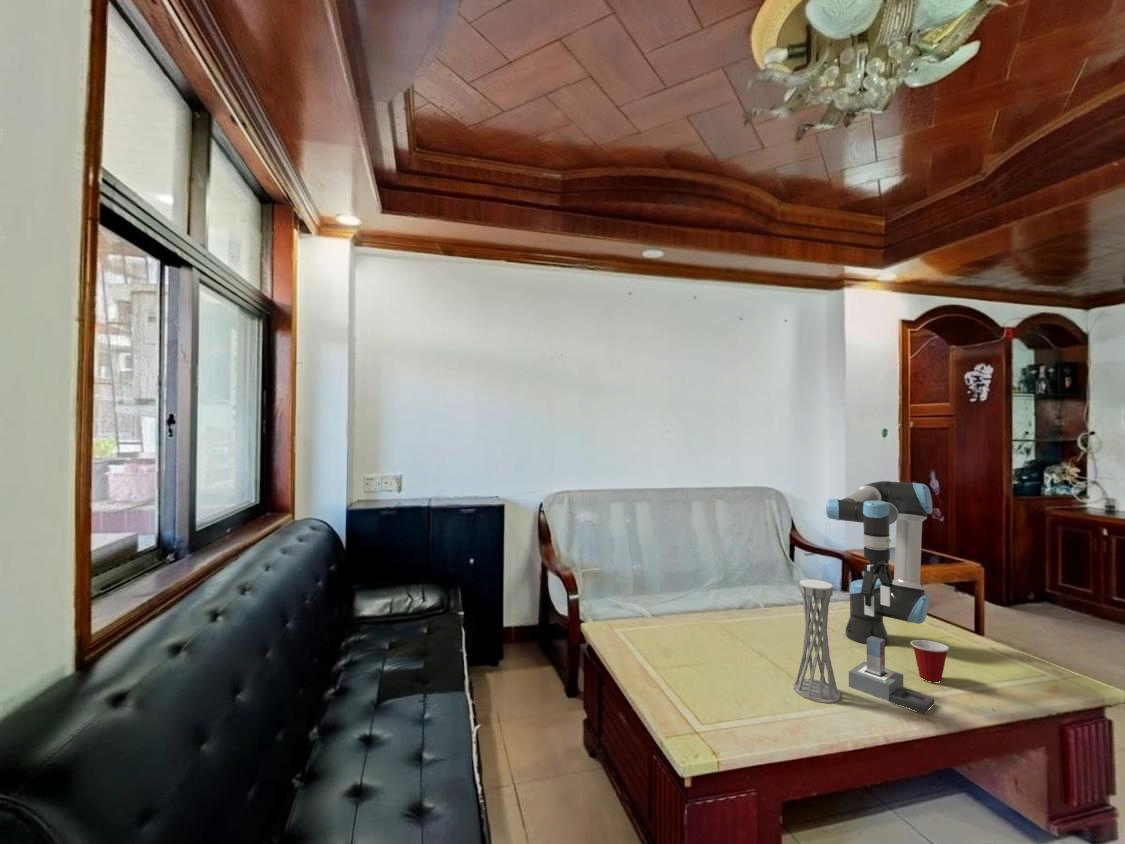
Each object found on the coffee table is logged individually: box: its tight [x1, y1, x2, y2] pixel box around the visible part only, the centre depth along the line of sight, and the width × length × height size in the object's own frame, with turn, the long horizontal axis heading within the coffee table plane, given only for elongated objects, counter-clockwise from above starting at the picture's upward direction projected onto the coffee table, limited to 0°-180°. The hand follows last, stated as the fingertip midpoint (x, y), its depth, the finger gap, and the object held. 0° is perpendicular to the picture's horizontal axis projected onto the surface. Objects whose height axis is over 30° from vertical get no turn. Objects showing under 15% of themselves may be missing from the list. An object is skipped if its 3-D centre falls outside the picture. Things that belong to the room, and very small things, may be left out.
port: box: [848, 661, 904, 701], centre depth 171 cm, size 12×12×5 cm
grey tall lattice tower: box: [793, 578, 841, 704], centre depth 168 cm, size 14×13×35 cm
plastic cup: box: [910, 639, 950, 682], centre depth 177 cm, size 11×11×12 cm
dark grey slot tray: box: [889, 687, 935, 715], centre depth 161 cm, size 9×9×2 cm
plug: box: [866, 636, 886, 678], centre depth 171 cm, size 4×4×15 cm
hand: (877, 610), depth 175 cm, fingers open, 13 cm apart
